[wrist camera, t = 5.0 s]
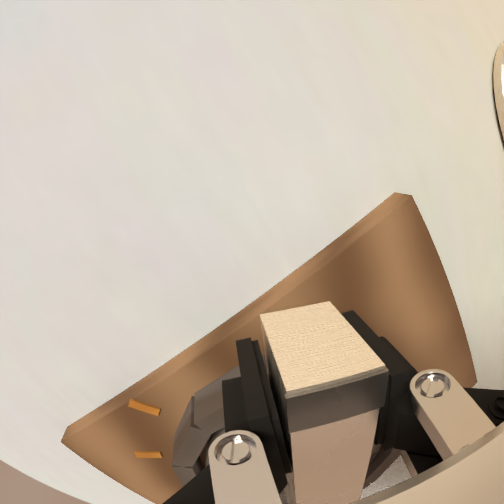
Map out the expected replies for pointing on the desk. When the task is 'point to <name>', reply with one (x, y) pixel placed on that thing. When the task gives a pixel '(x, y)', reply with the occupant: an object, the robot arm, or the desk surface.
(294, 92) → the desk surface
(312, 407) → the dial
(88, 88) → the desk surface
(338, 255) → the dial base
